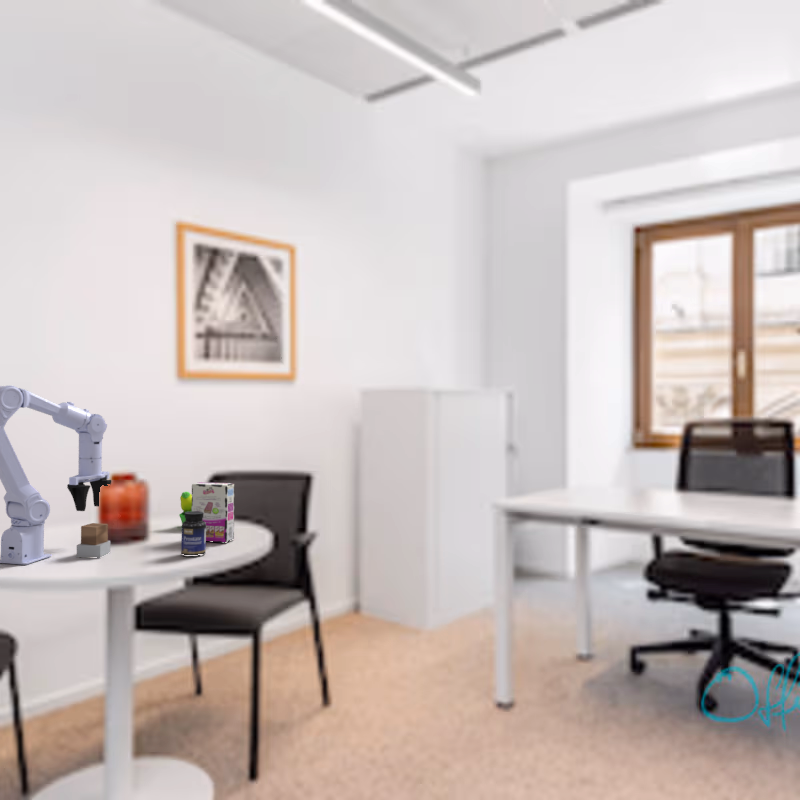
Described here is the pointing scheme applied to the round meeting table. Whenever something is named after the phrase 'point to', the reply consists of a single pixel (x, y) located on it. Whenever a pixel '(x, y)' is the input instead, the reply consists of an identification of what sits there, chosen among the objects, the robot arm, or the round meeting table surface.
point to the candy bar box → (215, 509)
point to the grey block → (93, 550)
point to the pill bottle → (193, 534)
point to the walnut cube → (94, 533)
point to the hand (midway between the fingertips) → (89, 508)
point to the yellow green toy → (185, 504)
